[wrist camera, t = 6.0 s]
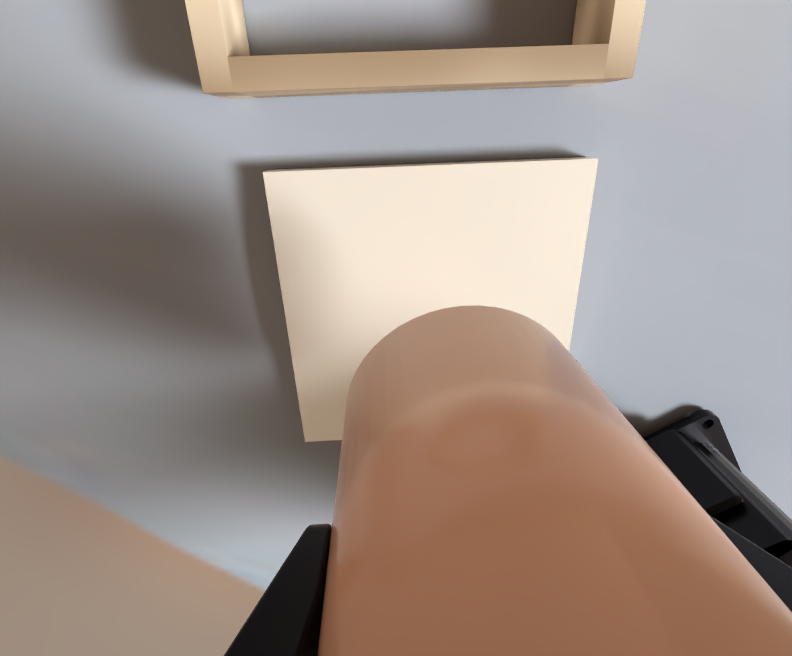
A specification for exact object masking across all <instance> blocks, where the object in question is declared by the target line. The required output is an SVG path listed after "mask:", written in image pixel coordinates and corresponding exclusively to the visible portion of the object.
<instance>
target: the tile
mask: <svg viewBox="0 0 792 656" xmlns="http://www.w3.org/2000/svg"><path fill="white" fill-rule="evenodd" d="M597 165H598V158H592V157H574V158H550V159H525V160H500V161H476V162H451V163H426V164H402V165H377V166H352V167H328V168H303V169H278V170H267V171H264V172H263V178H264V184H265V190H266V197H267V203H268V209H269V216H270V222H271V229H272V235H273V241H274V248H275V254H276V260H277V267H278V273H279V280H280V286H281V292H282V299H283V305H284V312H285V318H286V324H287V331H288V337H289V343H290V350H291V356H292V363H293V369H294V375H295V382H296V388H297V395H298V401H299V407H300V414H301V420H302V426H303V433H304V439H305V442H314V441H332V440H342V435H343V426H344V417H345V409H346V400H347V395H348V391H349V387H350V384H351V381H352V379H353V377H354V374H355V372H356V370H357V369H358V367H359V365H360V364H361V362H362V360H363V359H364V358H365V356H366V355H367V354H368V353H369V351H370V350H371V349H372V348H373V347H374V346H375V345H376V344H377V343H378V342H379V341H380V340H381V339H382V338H383V337H385V336H386V335H387V334H389V333H390V332H391V331H393V330H394V329H396V328H397V327H399V326H400V325H402V324H404V323H406V322H408V321H410V320H411V319H414V318H416V317H419V316H421V315H424V314H426V313H429V312H433V311H436V310H440V309H444V308H450V307H457V306H476V305H480V306H490V307H497V308H502V309H506V310H510V311H513V312H516V313H519V314H521V315H524V316H526V317H528V318H530V319H532V320H534V321H536V322H537V323H539V324H541V325H542V326H543V327H545V328H546V329H547V330H549V331H550V332H551V333H552V334H553V335H554V336H555V337H556V338H557V339H558V340H559V341H560V342H561V343H562V344H563V346H564V347H565V348H566V349H567V350H568V351H569V348H570V341H571V335H572V328H573V322H574V315H575V308H576V302H577V295H578V289H579V282H580V276H581V269H582V263H583V256H584V250H585V243H586V237H587V230H588V224H589V217H590V211H591V204H592V198H593V191H594V185H595V178H596V172H597Z"/></svg>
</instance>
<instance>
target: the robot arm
mask: <svg viewBox="0 0 792 656" xmlns="http://www.w3.org/2000/svg"><path fill="white" fill-rule="evenodd" d="M644 440H645V441H646V442H647V444H648V445H649V446H650V447H651V448H652V450H653V451H654V452H655V453H656V454H657V455H658V457H659V458H660V459H661V460H662V461H663V462H664V464H665V465H666V466H667V467H668V468H669V469H670V471H671V472H672V473H673V474H674V475H675V476H676V478H677V479H678V480H679V481H680V482H681V483H682V485H683V486H684V487H685V488H686V489H687V490H688V492H689V493H690V494H691V495H692V496H693V497H694V499H695V500H696V501H697V502H698V503H699V504H700V506H701V507H702V508H703V509H704V510H705V511H706V513H707V514H708V515H709V516H710V517H711V518H712V520H713V521H714V522H715V523H716V524H717V525H718V527H719V528H720V529H721V530H722V531H723V532H724V534H725V535H726V536H727V537H728V538H729V539H730V541H731V542H732V543H733V544H734V545H735V546H736V548H737V549H738V550H739V551H740V552H741V553H742V555H743V556H744V557H745V558H746V559H747V560H748V562H749V563H750V564H751V565H752V566H753V567H754V569H755V570H756V571H757V572H758V573H759V574H760V576H761V577H762V578H763V579H764V580H765V582H766V583H767V584H768V585H769V586H770V587H771V589H772V590H773V591H774V592H775V593H776V594H777V596H778V597H779V598H780V599H781V600H782V601H783V603H784V604H785V605H786V606H787V607H788V608H789V610H790V611H791V612H792V520H791V519H790V518H789V517H788V516H787V515H786V514H785V513H784V512H783V511H782V510H781V509H780V508H778V507H777V506H776V505H775V504H774V503H773V502H772V501H771V500H770V499H769V498H768V497H767V496H766V495H765V494H764V493H763V492H762V491H760V490H759V489H758V488H757V487H756V486H755V485H754V484H753V483H752V482H751V481H750V480H749V479H748V478H747V477H746V476H745V475H744V474H742V472H741V470H740V468H739V465H738V463H737V461H736V458H735V456H734V453H733V451H732V449H731V446H730V444H729V442H728V439H727V437H726V434H725V432H724V430H723V427H722V425H721V423H720V420H719V418H718V417H717V416H716V415H715V414H713V413H712V412H711V411H709V410H701V411H698V412H696V413H694V414H692V415H690V416H688V417H686V418H684V419H682V420H680V421H678V422H676V423H674V424H672V425H670V426H668V427H666V428H664V429H662V430H660V431H658V432H656V433H654V434H652V435H650V436H648V437H646V438H644ZM331 532H332V527H331V525H329V524H316V525H310V526H308V527H307V528H306V530H305V531H304V532H303V534H302V536H301V537H300V539H299V540H298V542H297V543H296V545H295V546H294V548H293V549H292V551H291V553H290V554H289V556H288V557H287V559H286V560H285V562H284V563H283V565H282V566H281V568H280V570H279V571H278V573H277V574H276V576H275V577H274V579H273V580H272V582H271V584H270V585H269V587H268V588H267V590H266V591H265V593H264V594H263V596H262V597H261V599H260V601H259V602H258V604H257V605H256V607H255V608H254V610H253V611H252V613H251V614H250V616H249V618H248V619H247V621H246V622H245V624H244V625H243V627H242V628H241V630H240V631H239V633H238V635H237V636H236V638H235V639H234V641H233V642H232V644H231V645H230V647H229V648H228V650H227V652H226V653H225V655H224V656H318V647H319V638H320V629H321V620H322V611H323V603H324V594H325V585H326V576H327V567H328V559H329V550H330V541H331Z"/></svg>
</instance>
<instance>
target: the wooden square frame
mask: <svg viewBox="0 0 792 656" xmlns="http://www.w3.org/2000/svg"><path fill="white" fill-rule="evenodd" d="M185 4H186V9H187V14H188V20H189V25H190V30H191V35H192V40H193V45H194V50H195V55H196V60H197V65H198V70H199V75H200V80H201V85H202V90H203V93H205V94H211V95H216V96H221V97H226V98H231V99H233V98H261V97H288V96H316V95H343V94H371V93H398V92H425V91H453V90H480V89H508V88H535V87H563V86H590V85H596V84H602V83H607V82H612V81H617V80H623V79H628V78H633V74H634V68H635V63H636V57H637V51H638V45H639V39H640V34H641V28H642V22H643V16H644V10H645V4H646V0H577V5H576V13H575V22H574V30H573V39H572V45H557V46H527V47H498V48H469V49H439V50H410V51H381V52H351V53H322V54H292V55H263V56H250V50H249V43H248V37H247V30H246V24H245V17H244V10H243V4H242V0H185Z"/></svg>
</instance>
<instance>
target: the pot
mask: <svg viewBox="0 0 792 656" xmlns="http://www.w3.org/2000/svg"><path fill="white" fill-rule="evenodd" d="M318 656H792V612H791V611H790V610H789V608H788V607H787V606H786V605H785V604H784V603H783V601H782V600H781V599H780V598H779V597H778V596H777V594H776V593H775V592H774V591H773V590H772V589H771V587H770V586H769V585H768V584H767V583H766V582H765V580H764V579H763V578H762V577H761V576H760V574H759V573H758V572H757V571H756V570H755V569H754V567H753V566H752V565H751V564H750V563H749V562H748V560H747V559H746V558H745V557H744V556H743V555H742V553H741V552H740V551H739V550H738V549H737V548H736V546H735V545H734V544H733V543H732V542H731V541H730V539H729V538H728V537H727V536H726V535H725V534H724V532H723V531H722V530H721V529H720V528H719V527H718V525H717V524H716V523H715V522H714V521H713V520H712V518H711V517H710V516H709V515H708V514H707V513H706V511H705V510H704V509H703V508H702V507H701V506H700V504H699V503H698V502H697V501H696V500H695V499H694V497H693V496H692V495H691V494H690V493H689V492H688V490H687V489H686V488H685V487H684V486H683V485H682V483H681V482H680V481H679V480H678V479H677V478H676V476H675V475H674V474H673V473H672V472H671V471H670V469H669V468H668V467H667V466H666V465H665V464H664V462H663V461H662V460H661V459H660V458H659V457H658V455H657V454H656V453H655V452H654V451H653V450H652V448H651V447H650V446H649V445H648V444H647V442H646V441H645V440H644V439H643V438H642V437H641V435H640V434H639V433H638V432H637V431H636V430H635V428H634V427H633V426H632V425H631V424H630V423H629V421H628V420H627V419H626V418H625V417H624V416H623V414H622V413H621V412H620V411H619V410H618V409H617V407H616V406H615V405H614V404H613V403H612V402H611V400H610V399H609V398H608V397H607V396H606V395H605V393H604V392H603V391H602V390H601V389H600V388H599V386H598V385H597V384H596V383H595V382H594V381H593V379H592V378H591V377H590V376H589V375H588V374H587V372H586V371H585V370H584V369H583V368H582V367H581V365H580V364H579V363H578V362H577V361H576V360H575V358H574V357H573V356H572V355H571V354H570V353H569V351H568V350H567V349H566V348H565V347H564V346H563V344H562V343H561V342H560V341H559V340H558V339H557V338H556V337H555V336H554V335H553V334H552V333H551V332H550V331H549V330H547V329H546V328H545V327H543V326H542V325H541V324H539V323H537V322H536V321H534V320H532V319H530V318H528V317H526V316H524V315H521V314H519V313H516V312H513V311H510V310H506V309H502V308H497V307H490V306H480V305H476V306H457V307H450V308H444V309H440V310H436V311H433V312H429V313H426V314H424V315H421V316H419V317H416V318H414V319H411V320H410V321H408V322H406V323H404V324H402V325H400V326H399V327H397V328H396V329H394V330H393V331H391V332H390V333H389V334H387V335H386V336H385V337H383V338H382V339H381V340H380V341H379V342H378V343H377V344H376V345H375V346H374V347H373V348H372V349H371V350H370V351H369V353H368V354H367V355H366V356H365V358H364V359H363V360H362V362H361V364H360V365H359V367H358V369H357V370H356V372H355V374H354V377H353V379H352V381H351V384H350V387H349V391H348V395H347V400H346V409H345V417H344V426H343V435H342V444H341V453H340V462H339V470H338V479H337V488H336V497H335V506H334V514H333V523H332V532H331V541H330V550H329V559H328V567H327V576H326V585H325V594H324V603H323V611H322V620H321V629H320V638H319V647H318Z"/></svg>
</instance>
